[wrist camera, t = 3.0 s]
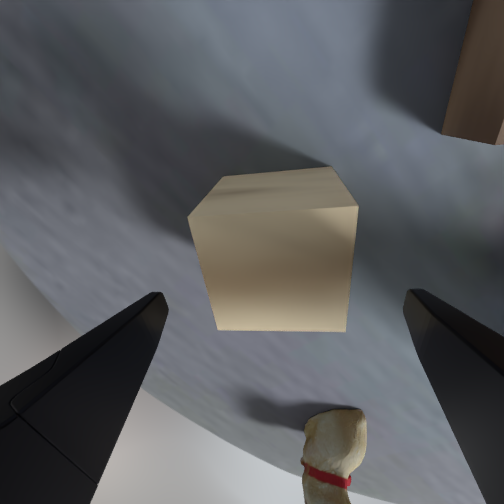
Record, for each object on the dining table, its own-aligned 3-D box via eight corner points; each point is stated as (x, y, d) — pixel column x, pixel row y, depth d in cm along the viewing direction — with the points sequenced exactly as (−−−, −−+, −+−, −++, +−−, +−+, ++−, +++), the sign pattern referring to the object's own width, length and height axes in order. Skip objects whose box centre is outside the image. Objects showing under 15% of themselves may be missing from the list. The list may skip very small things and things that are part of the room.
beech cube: (327, 259, 16) (345, 332, 11) (238, 262, 17) (217, 330, 12) (331, 166, 13) (358, 205, 8) (223, 176, 14) (187, 217, 9)
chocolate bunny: (286, 414, 27) (285, 559, 18) (360, 404, 24) (399, 569, 16) (306, 438, 29) (313, 578, 20) (375, 432, 26) (417, 589, 18)
